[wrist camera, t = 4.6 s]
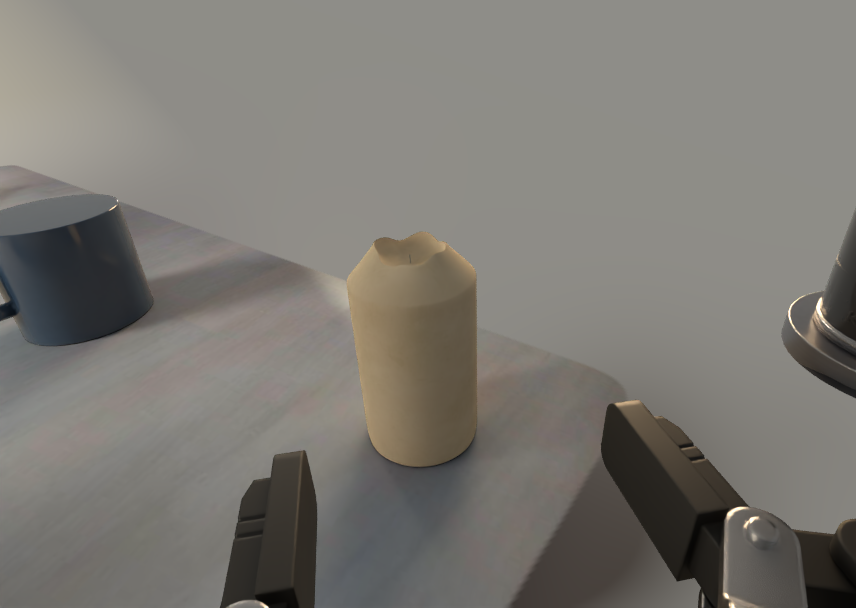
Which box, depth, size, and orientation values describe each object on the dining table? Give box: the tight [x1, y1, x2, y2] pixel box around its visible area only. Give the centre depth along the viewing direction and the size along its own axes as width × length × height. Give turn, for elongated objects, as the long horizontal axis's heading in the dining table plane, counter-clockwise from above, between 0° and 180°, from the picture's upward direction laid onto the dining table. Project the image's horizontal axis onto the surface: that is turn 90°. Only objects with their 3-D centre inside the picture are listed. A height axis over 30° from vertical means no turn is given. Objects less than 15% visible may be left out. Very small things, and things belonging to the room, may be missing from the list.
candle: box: [347, 232, 477, 467], centre depth 23 cm, size 6×6×10 cm
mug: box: [0, 194, 153, 346], centre depth 36 cm, size 10×9×8 cm
